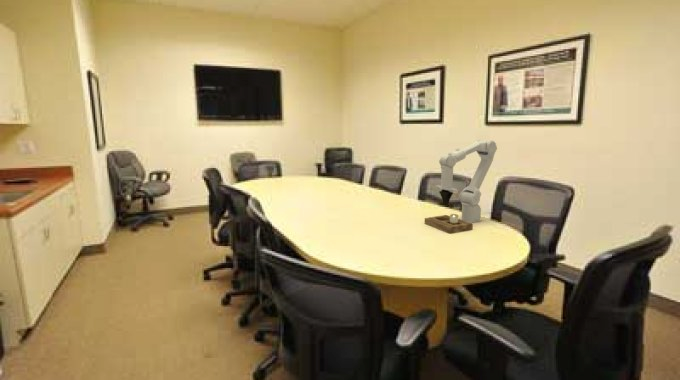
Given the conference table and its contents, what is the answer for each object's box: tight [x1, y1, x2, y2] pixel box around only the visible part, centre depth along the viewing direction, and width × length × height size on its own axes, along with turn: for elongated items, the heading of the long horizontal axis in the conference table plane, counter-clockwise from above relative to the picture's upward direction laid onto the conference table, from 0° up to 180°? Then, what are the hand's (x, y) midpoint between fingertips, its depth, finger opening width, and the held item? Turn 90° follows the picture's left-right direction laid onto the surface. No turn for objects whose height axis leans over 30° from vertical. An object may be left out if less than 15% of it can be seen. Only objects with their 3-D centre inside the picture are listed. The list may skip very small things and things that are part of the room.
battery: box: [449, 213, 459, 225], centre depth 187 cm, size 4×4×7 cm
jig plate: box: [424, 214, 474, 235], centre depth 191 cm, size 14×20×3 cm
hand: (445, 204), depth 194 cm, fingers closed
